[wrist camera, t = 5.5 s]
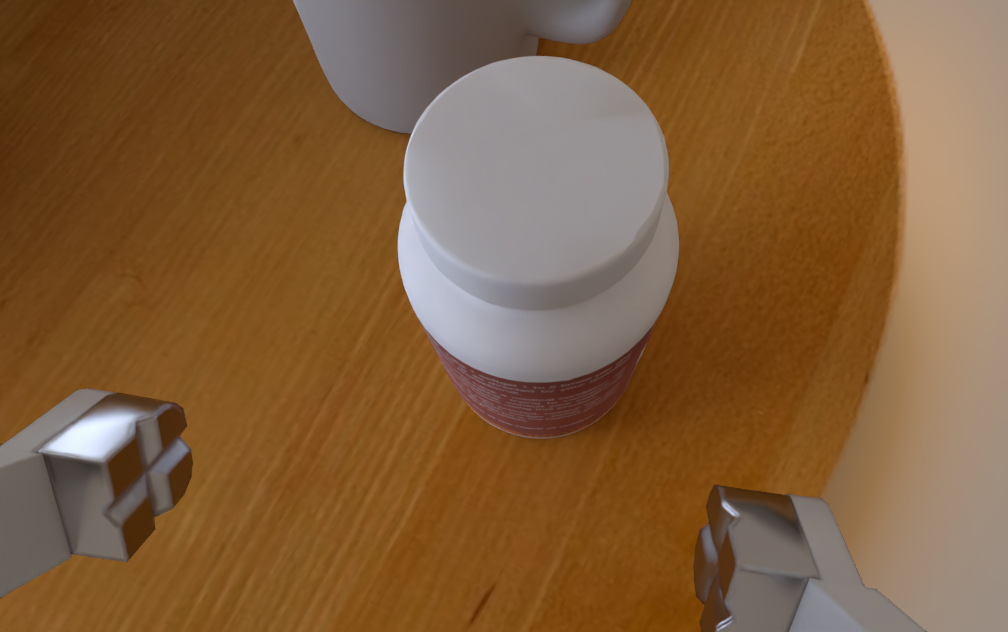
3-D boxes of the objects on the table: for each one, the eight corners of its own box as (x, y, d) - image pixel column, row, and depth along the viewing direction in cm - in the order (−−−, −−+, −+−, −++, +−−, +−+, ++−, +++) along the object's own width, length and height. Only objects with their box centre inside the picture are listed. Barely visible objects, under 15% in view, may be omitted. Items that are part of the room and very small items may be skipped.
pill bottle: (663, 409, 21) (778, 269, 11) (475, 466, 21) (404, 379, 10) (598, 240, 23) (643, -17, 13) (427, 289, 23) (329, 69, 12)
